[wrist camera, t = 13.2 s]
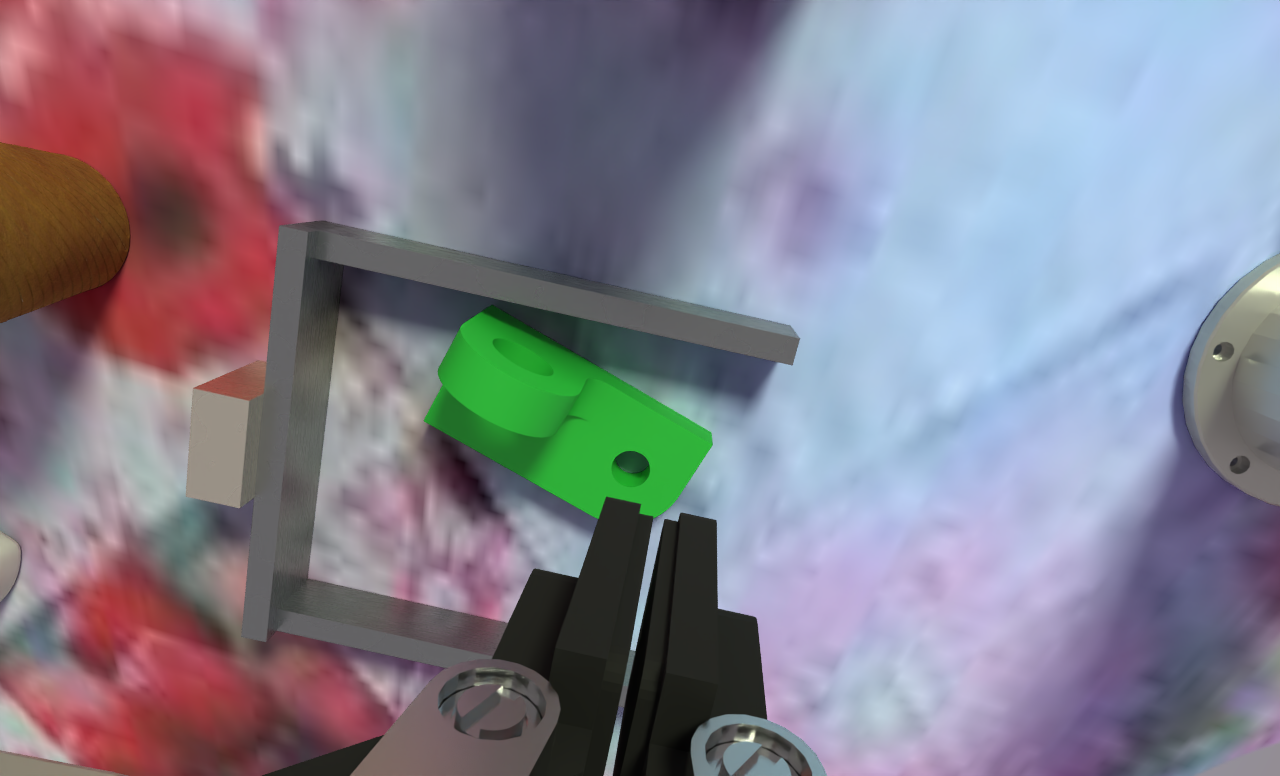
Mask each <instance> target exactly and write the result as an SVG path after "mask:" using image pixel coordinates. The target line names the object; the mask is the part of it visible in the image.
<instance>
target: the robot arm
mask: <svg viewBox="0 0 1280 776" xmlns="http://www.w3.org/2000/svg"><path fill="white" fill-rule="evenodd" d="M1183 407H1184V413H1185V420H1186V425H1187V428H1188V430H1189V433H1190V435H1191V438H1192V440H1193V443H1194V445H1195V447H1196V449H1197V450H1198V452H1199V453H1200V454H1201V456H1202V457H1203V459H1204V460H1205V462H1206V463H1207V464H1208V466H1209V467H1210V468H1211V469H1213V470H1214V471H1215V472H1216V473H1217V474H1218V475H1219V476H1220V477H1221V478H1223V479H1224V480H1225V481H1226V482H1228V483H1230V484H1231V485H1233V486H1235V487H1236V488H1238V489H1240V490H1241V491H1243V492H1244V493H1246V494H1248V495H1250V496H1252V497H1255V498H1257V499H1259V500H1262V501H1264V502H1266V503H1268V504H1271V505H1275V506H1280V253H1279V254H1277V255H1275V256H1273V257H1272V258H1270V259H1268V260H1266V261H1264V262H1263V263H1262V264H1260V265H1259V266H1258V267H1256V268H1255V269H1254V270H1252V271H1251V272H1249V273H1248V274H1247V275H1245V276H1244V277H1243V278H1241V279H1240V280H1239V281H1238V282H1237V283H1236V284H1235V285H1234V286H1233V287H1232V288H1231V289H1230V290H1229V291H1228V292H1227V293H1226V294H1225V296H1224V297H1223V298H1222V299H1221V300H1220V301H1219V302H1218V303H1217V305H1216V306H1215V308H1214V309H1213V311H1212V312H1211V313H1210V315H1209V316H1208V318H1207V319H1206V321H1205V322H1204V323H1203V325H1202V327H1201V329H1200V331H1199V333H1198V336H1197V338H1196V340H1195V342H1194V344H1193V346H1192V348H1191V351H1190V355H1189V358H1188V362H1187V366H1186V370H1185V374H1184V384H1183ZM640 508H641V504H639V503H635V502H630V501H625V500H621V499H616V498H611V497H607V496H606V498H605V501H604V504H603V507H602V510H601V513H600V516H599V519H598V522H597V525H596V528H595V531H594V534H593V537H592V540H591V543H590V546H589V549H588V552H587V555H586V557H585V560H584V563H583V566H582V569H581V572H580V575H579V578H576V577H572V576H567V575H562V574H558V573H553V572H549V571H544V570H540V569H534V570H533V571H532V573H531V575H530V577H529V579H528V581H527V584H526V586H525V588H524V590H523V592H522V594H521V597H520V599H519V601H518V603H517V605H516V607H515V610H514V612H513V614H512V616H511V618H510V620H509V623H508V625H507V627H506V629H505V631H504V633H503V636H502V638H501V640H500V642H499V644H498V646H497V649H496V651H495V653H494V655H493V657H492V659H477V660H471V661H466V662H460V663H458V664H456V665H453V666H451V667H449V668H446V669H444V670H443V671H441V672H440V673H439V674H438V675H437V676H435V677H434V678H433V679H432V680H431V681H430V682H429V683H428V684H427V685H426V686H425V688H424V689H423V690H422V691H421V692H420V694H419V695H418V696H417V697H416V698H415V699H414V701H413V702H412V703H411V704H410V705H409V706H408V708H407V709H406V710H405V711H404V712H403V714H402V715H401V716H400V717H399V718H398V719H397V721H396V722H395V723H394V724H393V725H392V727H391V728H390V729H389V730H388V731H387V732H386V734H385V735H382V736H379V737H376V738H373V739H370V740H367V741H364V742H361V743H358V744H355V745H352V746H349V747H346V748H343V749H340V750H337V751H334V752H331V753H328V754H325V755H322V756H319V757H316V758H313V759H310V760H307V761H304V762H301V763H298V764H295V765H292V766H289V767H286V768H283V769H280V770H277V771H274V772H271V773H268V774H265V775H262V776H603V775H604V771H605V766H606V761H607V757H608V752H609V748H610V743H611V738H612V734H613V729H614V725H615V720H616V715H617V711H618V706H619V702H620V697H621V692H622V688H623V683H624V678H625V673H626V668H627V663H628V658H629V652H630V647H631V641H632V636H633V630H634V624H635V618H636V613H637V607H638V601H639V596H640V590H641V584H642V579H643V573H644V567H645V562H646V556H647V550H648V545H649V539H650V533H651V527H652V522H653V516H649V515H645V514H640ZM0 776H128V775H124V774H119V773H115V772H110V771H105V770H100V769H94V768H89V767H84V766H79V765H74V764H68V763H63V762H58V761H53V760H48V759H42V758H37V757H32V756H27V755H22V754H16V753H11V752H6V751H1V750H0ZM613 776H827V775H826V772H825V769H824V768H823V766H822V764H821V762H820V761H819V759H818V757H817V755H816V754H815V753H814V752H813V751H812V750H811V748H810V747H809V746H808V745H807V744H806V743H805V742H804V741H803V740H802V739H800V738H799V737H797V736H796V735H795V734H793V733H792V732H790V731H789V730H787V729H786V728H784V727H782V726H780V725H777V724H775V723H773V722H771V721H768V720H767V713H766V703H765V693H764V683H763V673H762V663H761V654H760V644H759V634H758V624H757V619H756V617H753V616H749V615H744V614H740V613H735V612H731V611H726V610H722V609H718V594H717V522H716V520H713V519H709V518H704V517H699V516H695V515H690V514H686V513H680V516H679V520H678V522H677V521H672V520H668V519H665V520H664V524H663V528H662V533H661V537H660V542H659V546H658V551H657V555H656V560H655V564H654V569H653V574H652V578H651V583H650V587H649V592H648V596H647V601H646V605H645V610H644V615H643V619H642V624H641V628H640V633H639V637H638V642H637V647H636V651H635V656H634V660H633V665H632V669H631V674H630V679H629V684H628V689H627V694H626V699H625V705H624V711H623V717H622V723H621V729H620V735H619V741H618V747H617V753H616V759H615V765H614V771H613Z"/></svg>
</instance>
